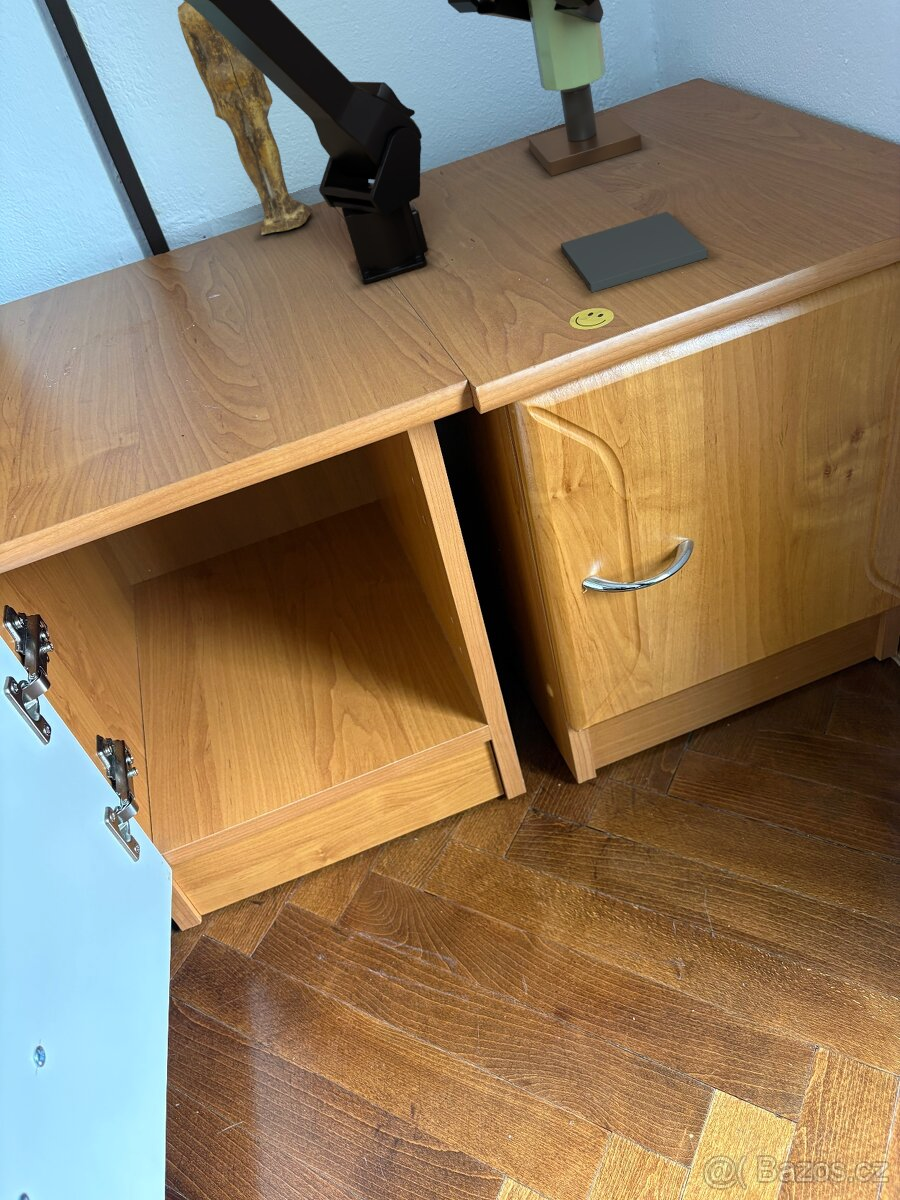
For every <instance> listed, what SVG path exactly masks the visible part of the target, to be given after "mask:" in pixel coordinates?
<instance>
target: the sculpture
mask: <svg viewBox="0 0 900 1200" xmlns="http://www.w3.org/2000/svg"><path fill="white" fill-rule="evenodd" d="M177 19H178V21H179V25H180V28H181V32H182V35H183V38H184V40H185V43H186V46H187V48H188V50H189V52H190V55H191V57H192V60H193V62H194V65H195V68H196V70H197V72H198V75H199V77H200V79H201V81H202V83H203V84H204V87H205V89H206V91H207V93H208V96H209V98H210V100H211V103H212V106H213V111H214V115H215V117H217V118H218V119H220V120H222V121H224V122H225V123H226V125H227V126H228V128H229V130H230V132H231V134H232V135H233V138H234V139H233V140H234V142H235V145H236V151H237V154H238V157H239V159H240V163H241V165H242V167H243V169H244V171H245V172H246V175H247V176H248V178H249V180H250V182H251V183H252V185H253V186H254V188H255V190H256V193H257V194H258V197H259V199H260V202H261V206H262V210H263V213H264V214H263V215H264V218H263V220H262V223H261V225H260V226H261V227H260V228H261V229H260V231H261V236H265V235H269V234H273V233H277V232H286V231H289V230H292V229H294V228H299V227H301V226H302V225H303V224H305V223H306V222H307V220H308V218H309V216H310V215H311V213H312V212H313V208H311V206H309V205H307V204H306V203H303V202H302V201H299V200H297V199H294V198H293V197H292V196H291V195H290V193H289V191H288V187H287V184H286V181H285V175H284V172H283V165H282V160H281V154H280V149H279V147H278V143H277V141H276V138H275V137H274V134H273V131H272V129H271V126H270V121H269V112H270V109H271V106H272V104H273V97H272V94H271V90H270V88H269V86H268V84H267V82H266V77H265V75H264V74H263V73H262V72H261V71H260V70H259V69H258V68H257V67H256V66H255V65H254V64H253V63H251V62H250V61H249V60H248V59H247V58H246V57H245V56H244V55H243V54H242V53H241V52H240V51H239V50H238V49H237V48H236V47H235V46H233V45H232V44H231V43H230V42H229V41H228V40H227V39H226V38H225V37H224V36H223V35H222V34H221V33H220V32H219V31H218V30H217V29H216V28H214V27H213V26H212V25H211V24H210V23H209V22H208V21H207V20H206V19H205V18H204V17H203V16H202V15H201V14H200V13H199V12H198V11H196V10H195V9H194V8H193V7H192V6H191V5H190V4H189V3H187V2H186V1H184V0H183V2H182V3H181V4H180V5H179V6H177Z"/></svg>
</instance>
